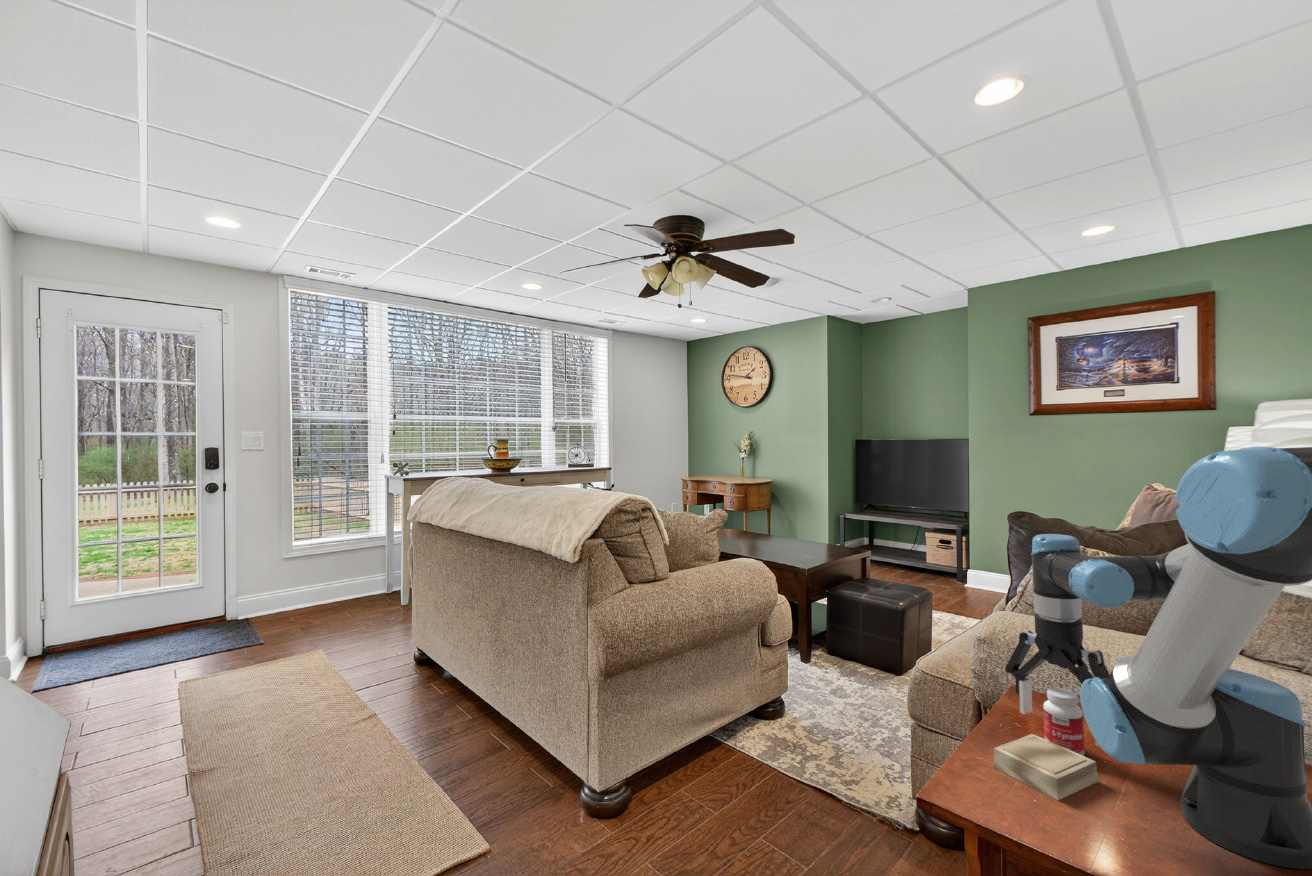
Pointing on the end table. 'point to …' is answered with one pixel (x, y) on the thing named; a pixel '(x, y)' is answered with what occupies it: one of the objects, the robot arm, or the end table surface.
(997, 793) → the end table surface
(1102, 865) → the end table surface
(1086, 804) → the end table surface
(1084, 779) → the maple plinth
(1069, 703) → the pill bottle
